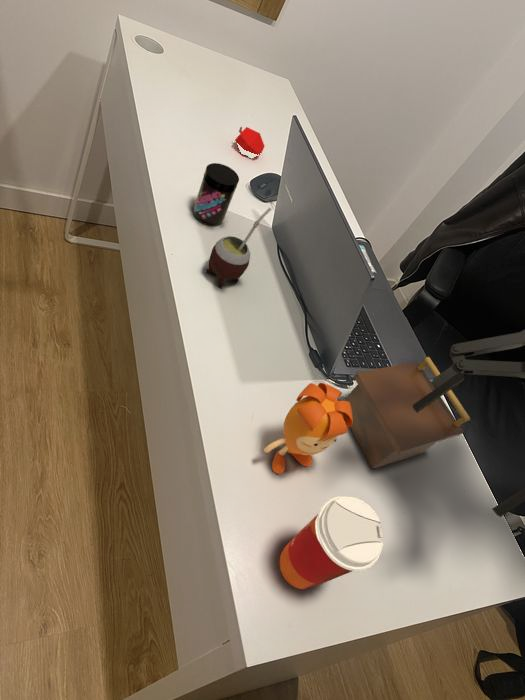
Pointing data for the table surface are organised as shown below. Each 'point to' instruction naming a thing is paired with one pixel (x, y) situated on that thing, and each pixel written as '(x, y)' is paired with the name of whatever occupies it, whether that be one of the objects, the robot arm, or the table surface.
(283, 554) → the coffee cup
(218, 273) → the mate gourd
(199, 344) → the table surface
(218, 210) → the supplement container
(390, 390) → the box with handle
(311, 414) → the toy figure
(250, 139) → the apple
